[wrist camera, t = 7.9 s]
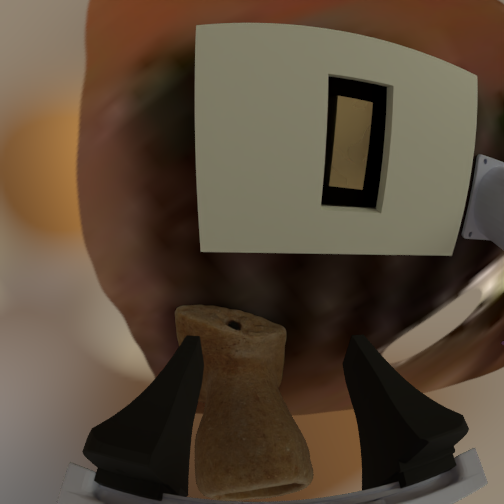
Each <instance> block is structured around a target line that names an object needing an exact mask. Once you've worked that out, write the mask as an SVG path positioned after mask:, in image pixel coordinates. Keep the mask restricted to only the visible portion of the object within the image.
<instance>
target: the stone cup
mask: <svg viewBox="0 0 504 504" xmlns="http://www.w3.org/2000/svg"><path fill="white" fill-rule="evenodd" d="M175 323H176V332H177V340H178V343H179V346H180V345H181V343H182V341H183V340H184V338H185V337H186V336H187V335H190V336H200V340H201V347H202V354H203V360H204V371H203V380H202V386H201V390H200V395H199V399H198V401H200V402H203V403H205V408H204V413H203V417H202V419H201V422H200V425H199V428H198V431H197V434H196V439H195V476H196V484H197V486H198V489H199V491H200V492H201V493H202V494H203V495H204V496H207V497H211V498H213V499H217V500H220V501H240V500H249V499H262V498H270V497H276V496H282V495H285V494H290V493H293V492H297V491H299V490H302V489H304V488H306V487H307V486H308V485H309V484H310V483H311V481H312V479H313V468H312V464H311V461H310V454H309V449H308V446H307V443H306V440H305V439H304V437H303V435H302V433H301V431H300V429H299V428H298V426H297V424H296V423H295V421H294V419H293V417H292V416H291V414H290V412H289V410H288V408H287V406H286V404H285V402H284V400H283V398H282V396H281V394H280V391H279V390H278V388H279V386H280V384H281V381H282V374H283V366H284V355H285V343H286V337H287V335H286V329H285V328H284V327H283V326H281V325H279V324H275V323H273V322H270V321H268V320H266V319H264V318H262V317H260V316H259V317H258V316H255V315H253V314H250V313H246V312H243V311H240V310H233V309H228V308H224V307H219V306H204V305H202V304H200V305H183V306H179V307H177V308H176V311H175Z"/></svg>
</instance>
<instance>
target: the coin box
mask: <svg viewBox="0 0 504 504" xmlns="http://www.w3.org/2000/svg"><path fill="white" fill-rule="evenodd" d="M328 76H330V77H337V78H344V79H350V80H356V81H362V82H367V83H372V84H377V85H381V86H386V87H387V104H386V123H385V137H384V149H383V159H382V168H381V176H380V184H379V192H378V198H377V205H376V207H364V206H348V205H330V204H321V201H322V190H323V178H324V165H325V150H326V133H327V111H328ZM476 122H477V76H476V75H474V74H472V73H470V72H468V71H466V70H464V69H462V68H459V67H457V66H455V65H453V64H450V63H448V62H446V61H443V60H441V59H438V58H436V57H433V56H430V55H428V54H425V53H422V52H419V51H416V50H413V49H410V48H407V47H404V46H401V45H398V44H394V43H391V42H387V41H383V40H380V39H376V38H372V37H367V36H363V35H358V34H354V33H349V32H343V31H338V30H332V29H325V28H318V27H310V26H300V25H289V24H273V23H224V24H207V25H196V49H195V151H196V180H197V201H198V219H199V235H200V249H201V252H242V253H307V254H373V255H442V256H452V253H453V250H454V247H455V243H456V240H457V236H458V232H459V228H460V225H461V221H462V216H463V212H464V208H465V203H466V198H467V193H468V188H469V182H470V176H471V170H472V163H473V155H474V146H475V136H476Z"/></svg>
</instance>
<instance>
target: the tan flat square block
mask: <svg viewBox="0 0 504 504" xmlns="http://www.w3.org/2000/svg"><path fill="white" fill-rule="evenodd" d="M372 108H373V102H369V101H364V100H359V99H354V98H349V97H343V96H334V97H329V98H328V111H327V133H326V150H325V165H324V178H323V181H324V182H325V183H326V184H327V185H328V186H333V187H342V188H351V189H360V190H363V184H364V177H365V170H366V163H367V156H368V148H369V139H370V130H371V120H372Z"/></svg>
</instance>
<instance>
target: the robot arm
mask: <svg viewBox="0 0 504 504" xmlns="http://www.w3.org/2000/svg"><path fill="white" fill-rule="evenodd" d="M469 233H470V234H469ZM462 237H464V238H465V239H479V240H491V241H492V242H494V243H495V244H496V245H497V246H499V247H500V248H501V249H503V250H504V162H501V161H499V160H496V159H493V158H490V157H487V156H484V155H481V154H479V155H478V156H477V158H476V165H475V172H474V178H473V184H472V189H471V194H470V199H469V204H468V209H467V213H466V217H465V221H464V225H463V229H462ZM343 368H344V375H345V381H346V384H347V388H348V391H349V395H350V398H351V402H352V405H353V408H354V412H355V415H356V419H357V424H358V431H359V438H360V446H361V457H362V491H358V492H353V493H348V494H342V495H336V496H330V497H324V498H315V499H306V500H294V501H279V502H278V501H277V502H237V501H219V500H207V499H198V498H190V497H187V496H188V475H189V458H190V445H191V435H192V427H193V421H194V416H195V412H196V408H197V403H198V399H199V395H200V390H201V386H202V380H203V371H204V360H203V354H202V347H201V340H200V336H190V335H187V336H186V337H185V338H184V340H183V341H182V343H181V345H180V346H179V348H178V349H177V351H176V352H175V354H174V355H173V357H172V358H171V359H170V361H169V362H168V364H167V365H166V366H165V368H164V369H163V370H162V371H161V372H160V374H159V375H158V376H157V377H156V378H155V380H154V381H153V382H152V383H151V384H150V385H149V386H148V387H147V388H146V389H145V390H144V391H143V392H142V393H141V394H140V395H139V396H138V397H137V398H136V399H135V400H133V401H132V402H131V403H130V404H129V405H128V406H126V407H125V408H124V409H122V410H121V411H120V412H118V413H117V414H115V415H114V416H112V417H111V418H109V419H108V420H106V421H104V422H102V423H101V424H99V425H97V426H96V427H94V428H92V430H91V432H90V433H89V435H88V438H87V440H86V443H85V446H84V449H83V454H84V456H85V457H86V458H87V459H88V460H90V461H91V462H92V463H93V464H94V465H95V466H97V467H98V469H97V472H94V471H92V470H90V469H88V468H85V467H82V466H79V465H77V464H74V463H71V462H70V463H69V465H68V468H67V471H66V474H65V477H64V480H63V483H62V487H61V490H60V493H59V497H58V500H57V503H58V504H453V503H455V502H457V501H459V500H461V499H462V498H465V497H466V496H468V495H470V494H472V493H473V492H475V491H477V490H479V489H480V488H482V487H483V486H485V485H487V479H486V476H485V474H484V471H483V468H482V465H481V462H480V460H479V457H478V454H477V452H476V449H475V448H472V449H470V450H468V451H466V452H464V453H462V454H460V455H458V456H456V457H455V458H454V456H453V453H454V452H455V449H454V445H455V444H456V443H458V442H459V441H460V440H461V439H462V438H463V437H464V436H465V435H466V434H467V432H468V430H469V428H468V426H467V424H466V421H465V419H464V417H463V415H461V414H459V413H457V412H454V411H452V410H450V409H447V408H445V407H444V406H442V405H440V404H438V403H437V402H435V401H433V400H432V399H430V398H429V397H427V396H426V395H424V394H423V393H421V392H420V391H419V390H417V389H416V388H415V387H413V386H412V385H411V384H410V383H409V382H407V381H406V380H405V379H404V378H403V377H402V376H401V375H400V374H399V373H398V372H397V371H396V370H395V369H394V368H393V367H392V366H391V365H390V364H389V363H388V362H387V361H386V360H385V359H384V358H383V357H382V356H381V354H380V353H379V352H378V351H377V350H376V349H375V348H374V346H373V345H372V344H371V343H370V342H369V341H368V339H367V338H366V337H365V336H364V335H352V337H351V340H350V343H349V346H348V349H347V352H346V355H345V358H344V361H343Z"/></svg>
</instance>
